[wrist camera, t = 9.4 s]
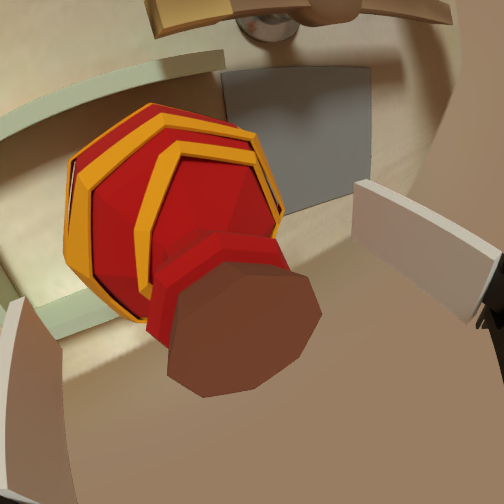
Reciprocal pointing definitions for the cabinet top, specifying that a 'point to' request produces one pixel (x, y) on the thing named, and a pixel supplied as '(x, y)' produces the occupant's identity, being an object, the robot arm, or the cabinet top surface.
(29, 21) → the cabinet top surface
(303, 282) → the potion bottle
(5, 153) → the cabinet top surface
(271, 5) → the turn bar
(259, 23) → the metal pivot base
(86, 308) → the channel
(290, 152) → the mat
